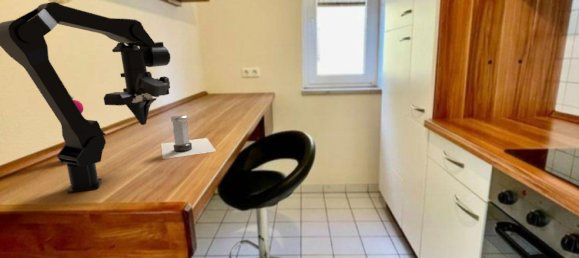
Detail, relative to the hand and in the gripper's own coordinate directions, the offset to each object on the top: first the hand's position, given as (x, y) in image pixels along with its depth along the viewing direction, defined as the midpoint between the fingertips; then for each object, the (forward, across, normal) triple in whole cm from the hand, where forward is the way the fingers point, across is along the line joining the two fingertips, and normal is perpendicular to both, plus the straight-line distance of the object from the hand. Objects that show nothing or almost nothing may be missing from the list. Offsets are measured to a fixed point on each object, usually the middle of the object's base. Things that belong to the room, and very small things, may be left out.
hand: (143, 124), depth 94 cm
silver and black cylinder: (+12, +13, -2) cm, 18 cm away
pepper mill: (+12, 0, +27) cm, 29 cm away
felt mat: (+12, +16, -2) cm, 20 cm away
